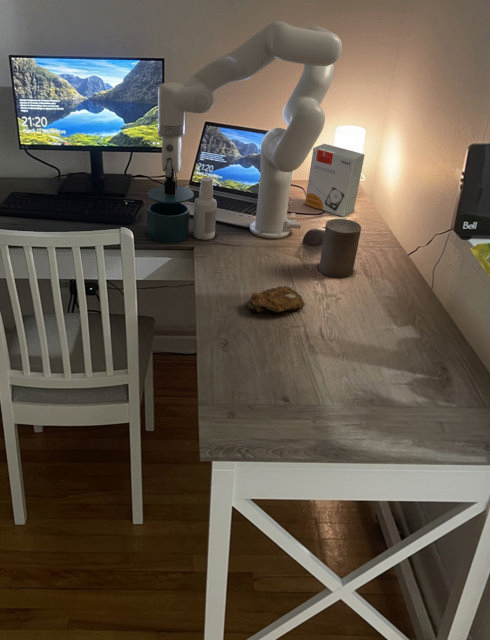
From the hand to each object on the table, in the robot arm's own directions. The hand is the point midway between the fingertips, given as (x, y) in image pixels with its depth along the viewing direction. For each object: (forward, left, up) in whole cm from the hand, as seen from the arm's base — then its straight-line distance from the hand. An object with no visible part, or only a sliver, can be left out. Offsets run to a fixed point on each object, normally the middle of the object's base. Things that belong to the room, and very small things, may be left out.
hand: (170, 191), depth 202 cm
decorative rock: (-31, +41, -14) cm, 53 cm away
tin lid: (0, 0, -1) cm, 1 cm away
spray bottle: (-11, -1, -14) cm, 18 cm away
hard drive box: (-52, -31, -14) cm, 62 cm away
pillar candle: (-49, +17, -14) cm, 54 cm away
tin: (0, 0, -14) cm, 14 cm away
